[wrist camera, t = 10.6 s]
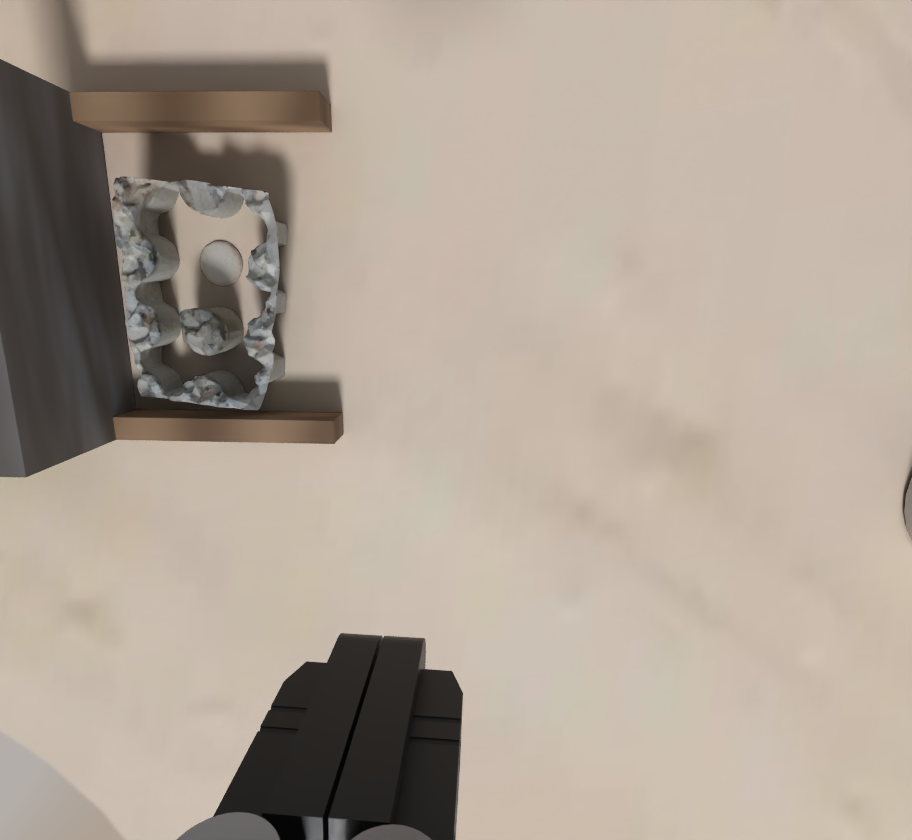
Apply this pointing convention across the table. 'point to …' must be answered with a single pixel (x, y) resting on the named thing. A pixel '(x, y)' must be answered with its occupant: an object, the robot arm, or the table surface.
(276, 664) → the table surface
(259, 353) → the egg carton
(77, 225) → the display stand
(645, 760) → the table surface
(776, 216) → the table surface
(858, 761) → the table surface
